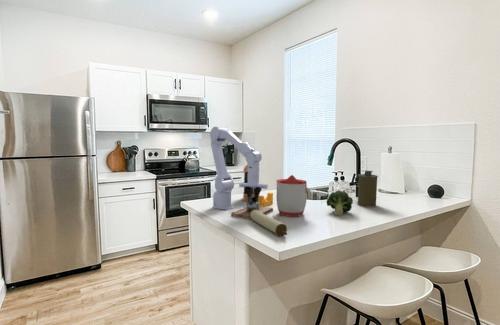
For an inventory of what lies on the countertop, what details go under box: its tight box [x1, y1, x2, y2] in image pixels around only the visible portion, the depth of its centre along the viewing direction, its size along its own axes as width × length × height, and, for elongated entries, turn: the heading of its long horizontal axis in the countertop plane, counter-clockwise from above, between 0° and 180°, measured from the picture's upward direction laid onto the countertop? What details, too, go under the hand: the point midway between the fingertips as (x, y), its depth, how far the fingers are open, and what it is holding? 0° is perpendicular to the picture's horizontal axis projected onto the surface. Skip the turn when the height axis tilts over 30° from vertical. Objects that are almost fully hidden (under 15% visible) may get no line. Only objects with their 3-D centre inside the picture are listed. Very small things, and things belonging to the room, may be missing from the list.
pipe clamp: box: [258, 192, 274, 207], centre depth 167 cm, size 12×4×6 cm, turn 145°
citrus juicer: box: [275, 174, 312, 217], centre depth 147 cm, size 16×17×20 cm
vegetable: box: [326, 190, 354, 217], centre depth 151 cm, size 12×13×15 cm
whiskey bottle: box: [242, 147, 256, 202], centre depth 180 cm, size 10×10×32 cm
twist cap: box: [246, 194, 259, 211], centre depth 148 cm, size 6×8×7 cm
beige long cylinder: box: [249, 209, 288, 237], centre depth 126 cm, size 32×6×5 cm, turn 25°
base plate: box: [231, 206, 274, 220], centre depth 149 cm, size 13×20×2 cm, turn 150°
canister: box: [356, 170, 379, 208], centre depth 169 cm, size 11×10×20 cm
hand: (253, 201), depth 148 cm, fingers closed on twist cap, 2 cm apart
